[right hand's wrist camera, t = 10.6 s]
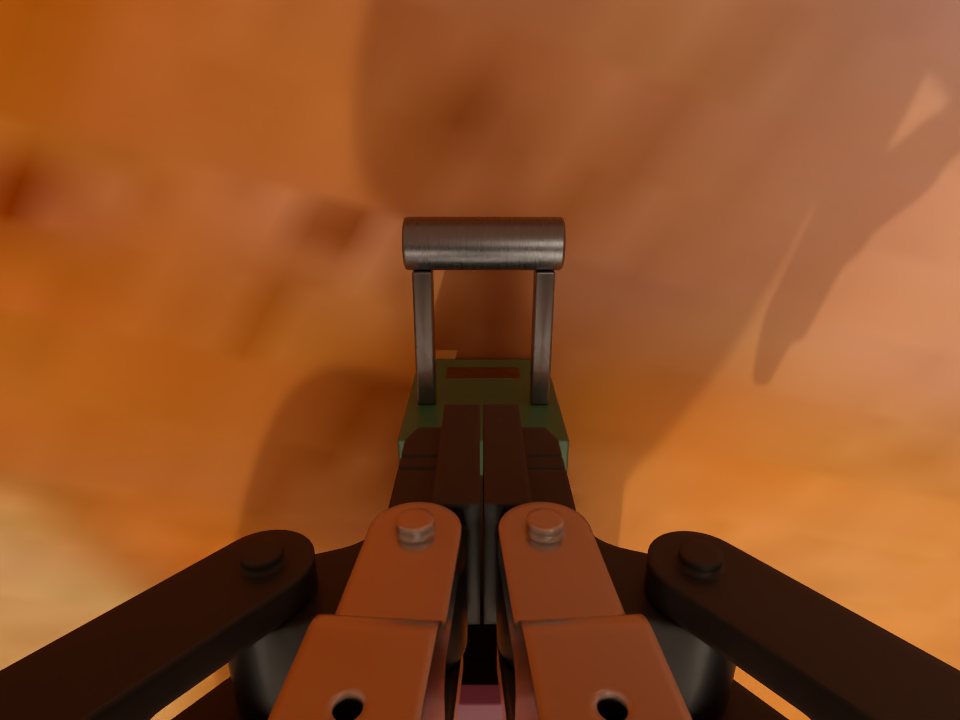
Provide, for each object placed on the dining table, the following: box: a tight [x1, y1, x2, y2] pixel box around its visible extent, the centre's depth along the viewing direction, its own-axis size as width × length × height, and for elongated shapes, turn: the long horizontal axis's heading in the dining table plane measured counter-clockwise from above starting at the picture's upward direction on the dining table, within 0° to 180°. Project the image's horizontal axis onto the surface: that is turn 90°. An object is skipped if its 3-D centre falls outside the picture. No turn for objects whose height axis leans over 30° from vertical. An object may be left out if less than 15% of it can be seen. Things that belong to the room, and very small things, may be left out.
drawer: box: [398, 217, 569, 685], centre depth 22 cm, size 21×5×7 cm, turn 0°
